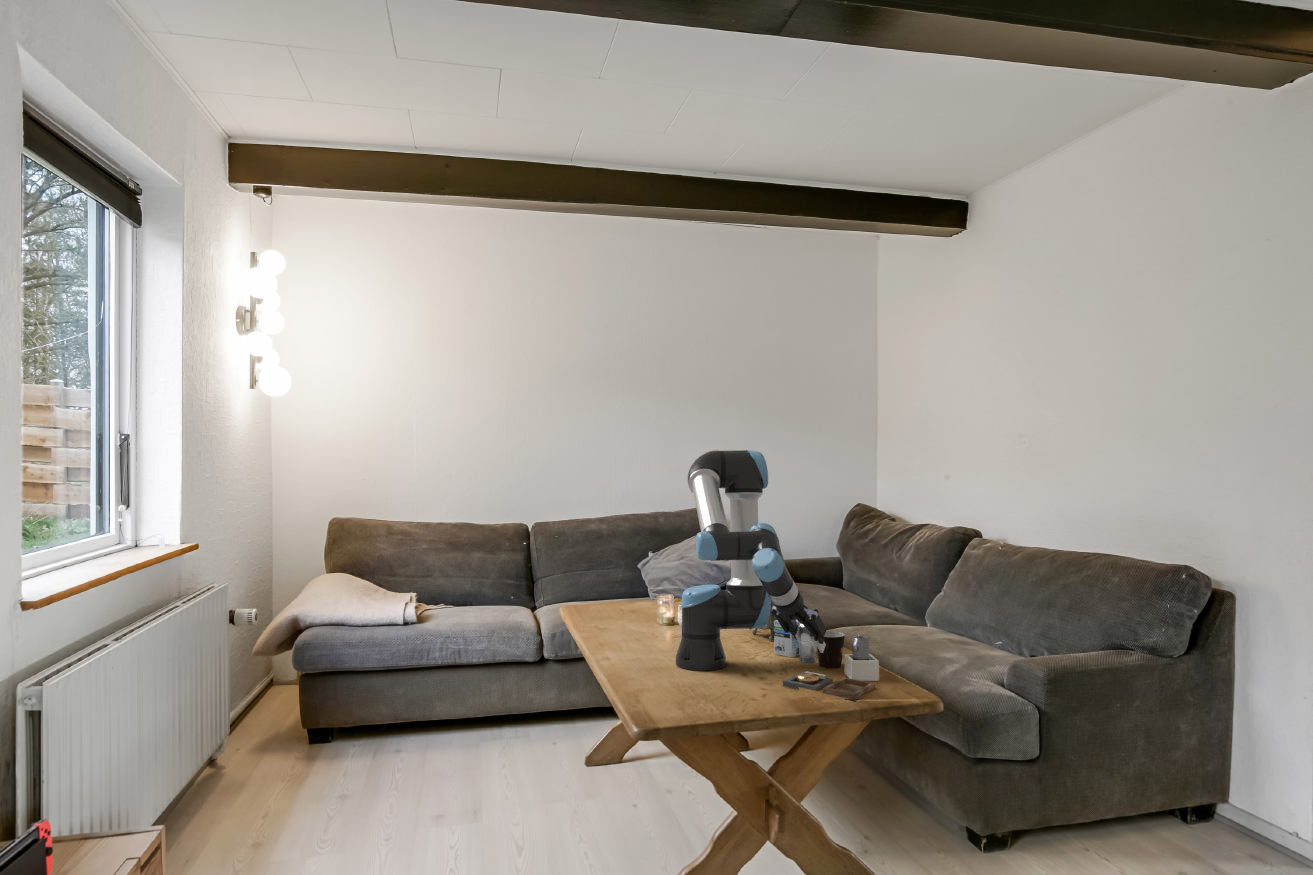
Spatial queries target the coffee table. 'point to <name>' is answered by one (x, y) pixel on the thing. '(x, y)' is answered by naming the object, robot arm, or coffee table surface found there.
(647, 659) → the coffee table surface
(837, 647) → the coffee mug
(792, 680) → the base
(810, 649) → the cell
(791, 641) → the light bulb box
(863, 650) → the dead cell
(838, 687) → the brown wooden tray
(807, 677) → the brown flat disc
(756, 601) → the robot arm
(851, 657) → the white square box
